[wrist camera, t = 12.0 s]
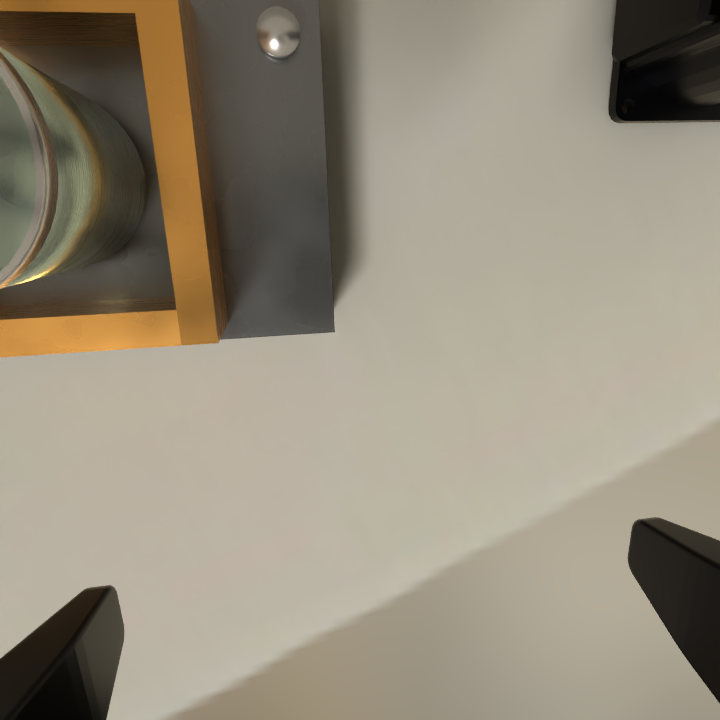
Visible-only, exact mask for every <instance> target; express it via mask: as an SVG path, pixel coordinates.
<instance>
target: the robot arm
mask: <svg viewBox="0 0 720 720" xmlns="http://www.w3.org/2000/svg"><path fill="white" fill-rule="evenodd" d="M612 56H613V58H614V59H613V69H612V79H611V89H610V99H609V115H610V117H611V119H612V120H613V121H614V122H617V123H669V122H720V0H617V6H616V16H615V26H614V37H613V47H612ZM623 102H626V104H627V111H626V113H624V112H623V111H622V103H623ZM628 563H629V567H630V569H631V572H632V574H633V575H634V577H635V579H636V580H637V582H638V583H639V585H640V586H641V588H642V590H643V591H644V593H645V594H646V596H647V598H648V599H649V601H650V603H651V604H652V606H653V607H654V609H655V611H656V612H657V614H658V615H659V617H660V619H661V620H662V622H663V623H664V625H665V627H666V628H667V630H668V631H669V633H670V635H671V636H672V638H673V639H674V641H675V642H676V644H677V645H678V647H679V648H680V650H681V651H682V653H683V654H684V656H685V657H686V659H687V660H688V661H689V663H690V664H691V666H692V667H693V668H694V670H695V671H696V672H697V673H698V675H699V676H700V677H701V679H702V680H703V682H704V683H705V684H706V686H707V687H708V688H709V690H710V691H711V692H712V694H713V695H714V696H715V697H716V699H717V700H718V702H719V703H720V541H719V540H716V539H713V538H711V537H709V536H706V535H703V534H701V533H698V532H695V531H693V530H690V529H688V528H685V527H682V526H680V525H677V524H674V523H672V522H669V521H667V520H664V519H661V518H647V519H639V520H637V521H635V522H634V524H633V526H632V531H631V538H630V545H629V552H628ZM123 642H124V624H123V619H122V614H121V610H120V605H119V600H118V595H117V591H116V590H115V588H114V587H113V586H111V585H107V586H99V587H91V588H87V589H85V590H83V591H82V592H81V593H79V594H78V595H77V596H76V597H74V598H73V599H72V600H71V601H70V602H68V603H67V604H66V605H65V606H64V607H62V608H61V609H60V610H59V611H57V612H56V613H55V614H54V615H53V616H51V617H50V618H49V619H48V620H47V621H45V622H44V623H43V624H42V625H40V626H39V627H38V628H37V629H36V630H34V631H33V632H32V633H31V634H30V635H28V636H27V637H26V638H25V639H24V640H22V641H21V642H20V643H19V644H17V645H16V646H15V647H14V648H13V649H11V650H10V651H9V652H8V653H7V654H5V655H4V656H3V657H2V658H0V720H106V718H107V714H108V709H109V705H110V700H111V696H112V691H113V687H114V682H115V678H116V674H117V669H118V665H119V660H120V656H121V651H122V647H123Z"/></svg>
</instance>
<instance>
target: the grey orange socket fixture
mask: <svg viewBox="0 0 720 720" xmlns="http://www.w3.org/2000/svg"><path fill="white" fill-rule="evenodd" d="M0 47H1V48H2V49H4V50H6V51H8V52H9V53H11V54H13V55H14V56H16V57H18V58H20V59H21V60H23V61H25V62H26V63H28V64H30V65H32V66H33V67H35V68H37V69H38V70H40V71H42V72H44V73H45V74H47V75H49V76H50V77H52V78H54V79H55V80H57V81H59V82H61V83H62V84H64V85H66V86H67V87H69V88H71V89H73V90H74V91H76V92H78V93H79V94H81V95H83V96H85V97H86V98H88V99H90V100H91V101H93V102H95V103H96V104H98V105H99V106H100V107H102V108H103V109H104V110H106V111H107V112H108V113H109V114H110V115H111V116H112V117H113V118H114V119H115V120H116V121H117V122H118V123H119V124H120V125H121V126H122V128H123V129H124V130H125V131H126V133H127V134H128V136H129V137H130V139H131V140H132V142H133V144H134V146H135V148H136V150H137V152H138V154H139V156H140V159H141V162H142V165H143V169H144V173H145V178H146V189H147V190H146V204H145V210H144V213H143V217H142V220H141V222H140V224H139V226H138V228H137V230H136V232H135V234H134V235H133V236H132V238H131V239H130V241H129V242H128V243H127V244H126V245H125V246H124V247H123V248H122V249H120V250H119V251H118V252H117V253H115V254H114V255H112V256H110V257H109V258H107V259H105V260H103V261H100V262H98V263H95V264H91V265H88V266H84V267H80V268H76V269H72V270H69V271H65V272H61V273H57V274H54V275H50V276H46V277H42V278H38V279H35V280H31V281H27V282H23V283H20V284H16V285H12V286H8V287H4V288H2V289H0V357H12V356H27V355H42V354H58V353H73V352H88V351H103V350H118V349H133V348H148V347H164V346H179V345H194V344H209V343H219V341H220V339H235V338H251V337H266V336H281V335H297V334H312V333H327V332H335V328H334V308H333V287H332V266H331V246H330V225H329V205H328V184H327V163H326V143H325V122H324V101H323V81H322V60H321V40H320V19H319V0H0Z"/></svg>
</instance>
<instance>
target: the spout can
mask: <svg viewBox="0 0 720 720" xmlns="http://www.w3.org/2000/svg"><path fill="white" fill-rule="evenodd" d="M146 190H147V189H146V178H145V173H144V169H143V165H142V162H141V159H140V156H139V154H138V152H137V150H136V148H135V146H134V144H133V142H132V140H131V139H130V137H129V136H128V134H127V133H126V131H125V130H124V129H123V128H122V126H121V125H120V124H119V123H118V122H117V121H116V120H115V119H114V118H113V117H112V116H111V115H110V114H109V113H108V112H107V111H106V110H104V109H103V108H102V107H100V106H99V105H98V104H96V103H95V102H93V101H91V100H90V99H88V98H86V97H85V96H83V95H81V94H79V93H78V92H76V91H74V90H73V89H71V88H69V87H67V86H66V85H64V84H62V83H61V82H59V81H57V80H55V79H54V78H52V77H50V76H49V75H47V74H45V73H44V72H42V71H40V70H38V69H37V68H35V67H33V66H32V65H30V64H28V63H26V62H25V61H23V60H21V59H20V58H18V57H16V56H14V55H13V54H11V53H9V52H8V51H6V50H4V49H2V48H1V47H0V289H2V288H4V287H8V286H12V285H16V284H20V283H23V282H27V281H31V280H35V279H38V278H42V277H46V276H50V275H54V274H57V273H61V272H65V271H69V270H72V269H76V268H80V267H84V266H88V265H91V264H95V263H98V262H100V261H103V260H105V259H107V258H109V257H110V256H112V255H114V254H115V253H117V252H118V251H119V250H120V249H122V248H123V247H124V246H125V245H126V244H127V243H128V242H129V241H130V239H131V238H132V236H133V235H134V234H135V232H136V230H137V228H138V226H139V224H140V222H141V220H142V217H143V213H144V210H145V204H146Z"/></svg>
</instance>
